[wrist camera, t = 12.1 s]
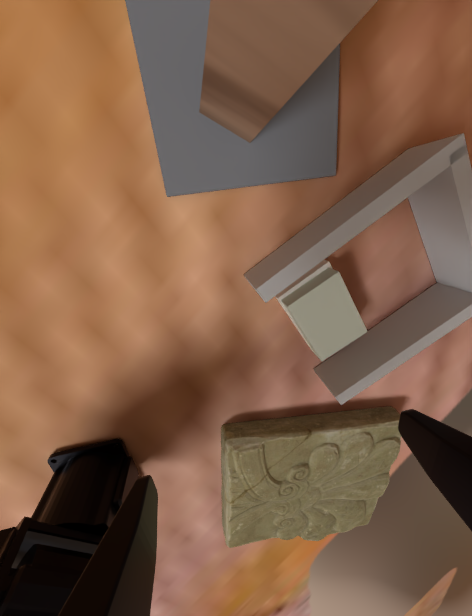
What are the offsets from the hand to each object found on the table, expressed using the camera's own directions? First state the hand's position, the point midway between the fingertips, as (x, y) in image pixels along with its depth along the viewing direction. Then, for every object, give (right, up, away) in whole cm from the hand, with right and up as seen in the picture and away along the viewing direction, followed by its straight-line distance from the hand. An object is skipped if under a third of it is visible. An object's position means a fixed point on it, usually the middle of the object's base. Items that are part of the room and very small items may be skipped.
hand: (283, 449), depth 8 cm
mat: (-1, +19, +6) cm, 20 cm away
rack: (+9, +7, +13) cm, 17 cm away
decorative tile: (+6, -15, +22) cm, 28 cm away
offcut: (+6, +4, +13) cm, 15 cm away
